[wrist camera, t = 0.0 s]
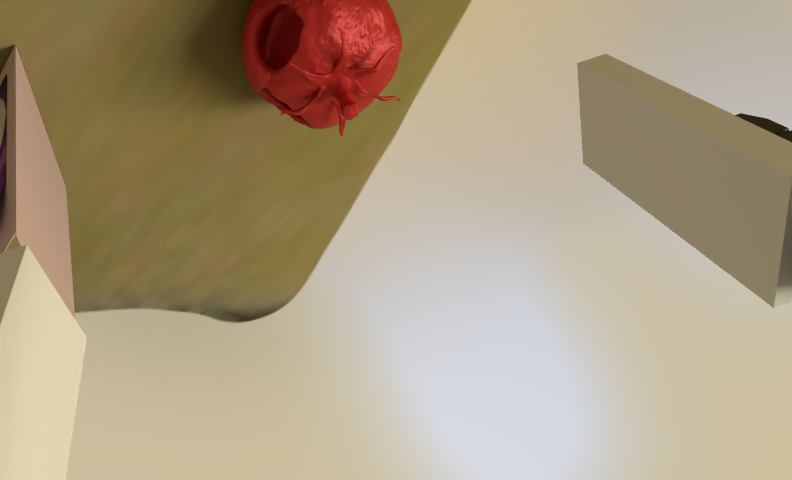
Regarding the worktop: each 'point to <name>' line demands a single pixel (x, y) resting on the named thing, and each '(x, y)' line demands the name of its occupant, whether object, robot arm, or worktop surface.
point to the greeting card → (32, 182)
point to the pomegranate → (321, 56)
